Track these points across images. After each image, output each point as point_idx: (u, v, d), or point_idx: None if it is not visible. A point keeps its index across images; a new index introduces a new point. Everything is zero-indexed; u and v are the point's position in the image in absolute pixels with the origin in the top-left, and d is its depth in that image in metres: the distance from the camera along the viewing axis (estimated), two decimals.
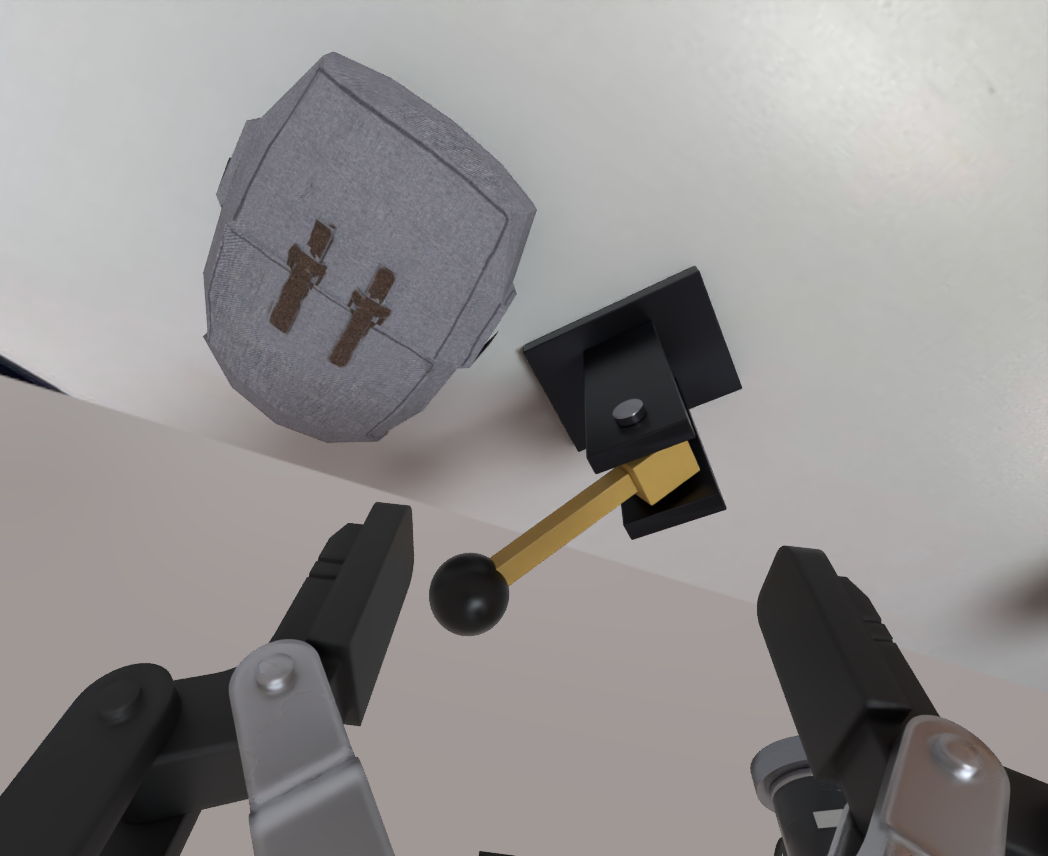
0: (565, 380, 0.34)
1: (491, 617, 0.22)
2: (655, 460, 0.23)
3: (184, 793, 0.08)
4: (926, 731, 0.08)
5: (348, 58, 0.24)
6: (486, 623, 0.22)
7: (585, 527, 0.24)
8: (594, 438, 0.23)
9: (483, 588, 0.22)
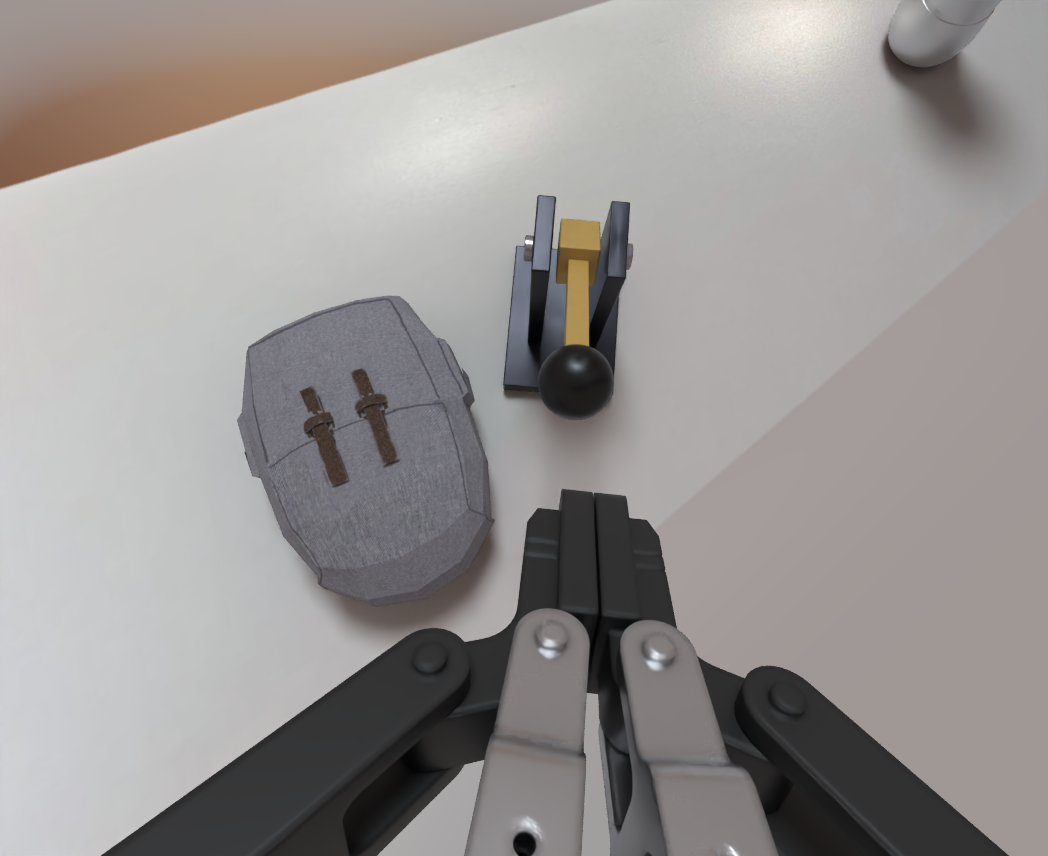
0: None
1: (590, 352, 0.23)
2: (565, 235, 0.29)
3: (473, 744, 0.08)
4: (641, 634, 0.09)
5: None
6: (592, 357, 0.23)
7: (586, 293, 0.27)
8: None
9: (562, 347, 0.24)
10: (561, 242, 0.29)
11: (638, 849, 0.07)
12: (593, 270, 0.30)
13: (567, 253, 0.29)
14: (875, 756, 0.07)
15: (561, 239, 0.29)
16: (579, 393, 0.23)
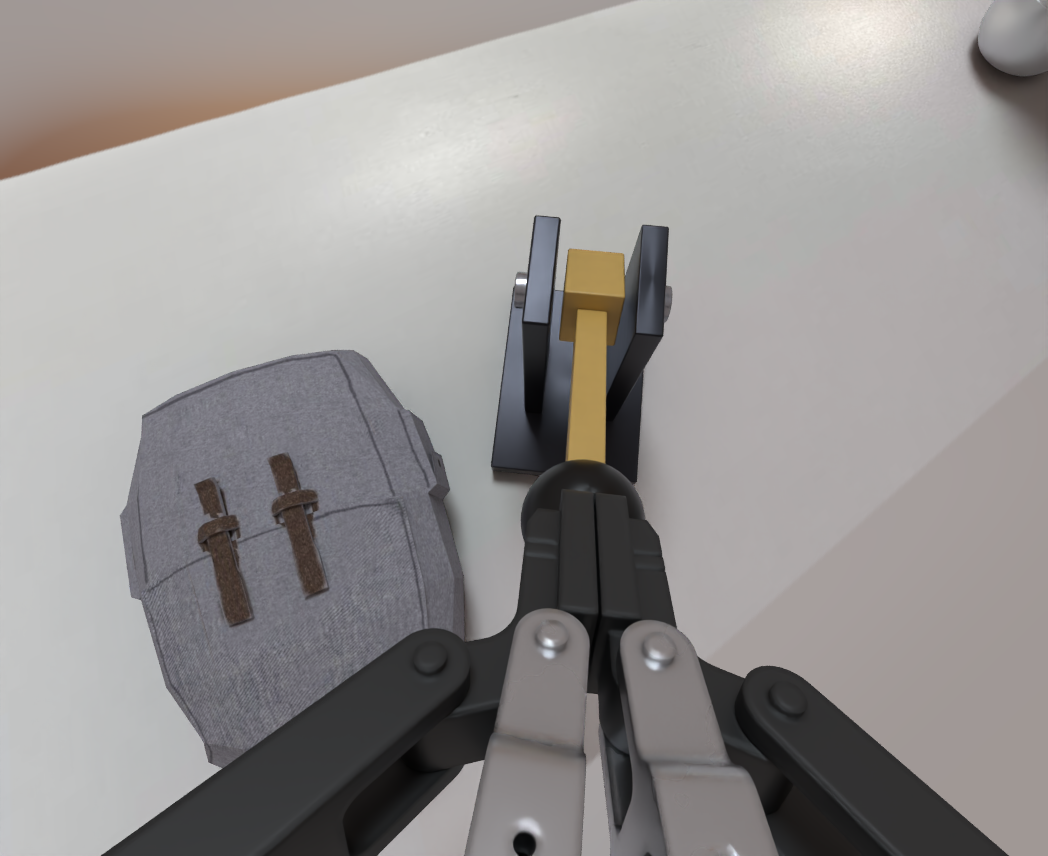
0: (545, 444, 0.30)
1: (607, 481, 0.14)
2: (574, 274, 0.20)
3: (473, 744, 0.08)
4: (641, 634, 0.09)
5: None
6: (611, 491, 0.14)
7: (602, 365, 0.18)
8: None
9: (561, 468, 0.14)
10: (567, 284, 0.20)
11: (638, 849, 0.07)
12: (613, 324, 0.20)
13: (576, 300, 0.20)
14: (875, 756, 0.07)
15: (567, 280, 0.20)
16: None
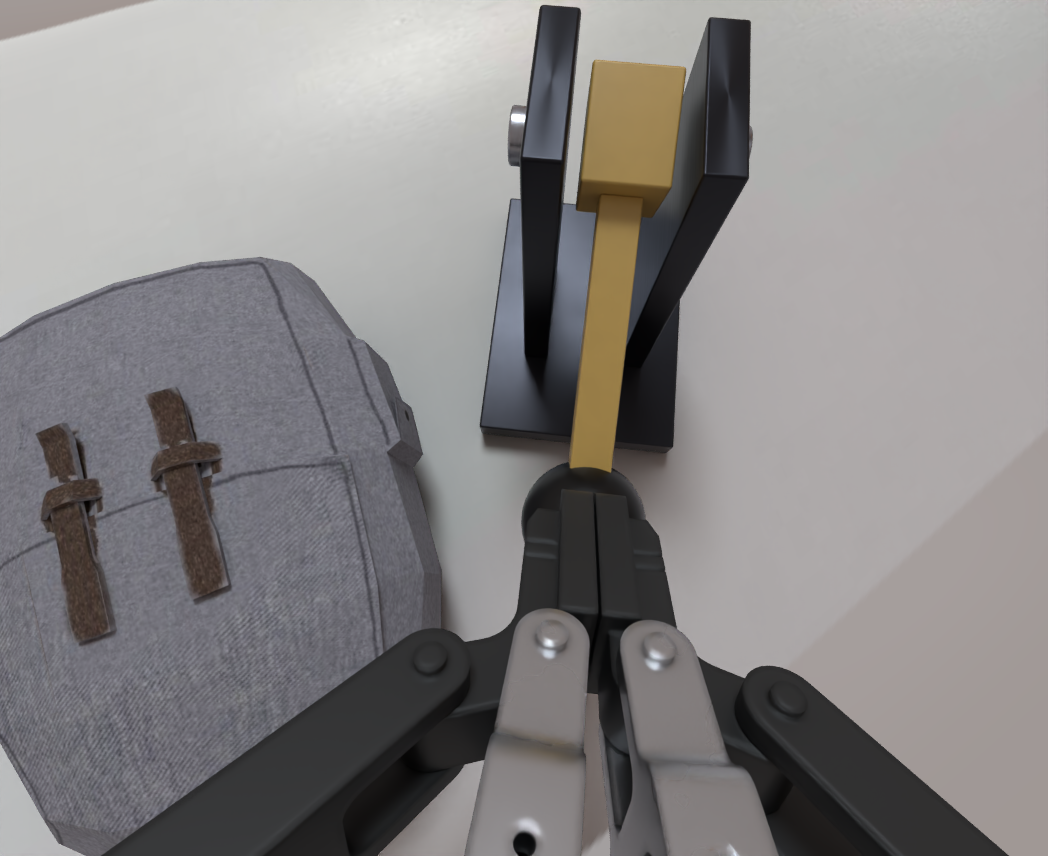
0: (551, 398, 0.23)
1: None
2: (597, 135, 0.13)
3: (473, 744, 0.08)
4: (641, 633, 0.09)
5: None
6: None
7: (625, 312, 0.14)
8: None
9: (559, 503, 0.14)
10: (585, 164, 0.13)
11: (638, 849, 0.07)
12: (653, 205, 0.14)
13: (598, 188, 0.13)
14: (875, 756, 0.07)
15: (586, 152, 0.13)
16: None
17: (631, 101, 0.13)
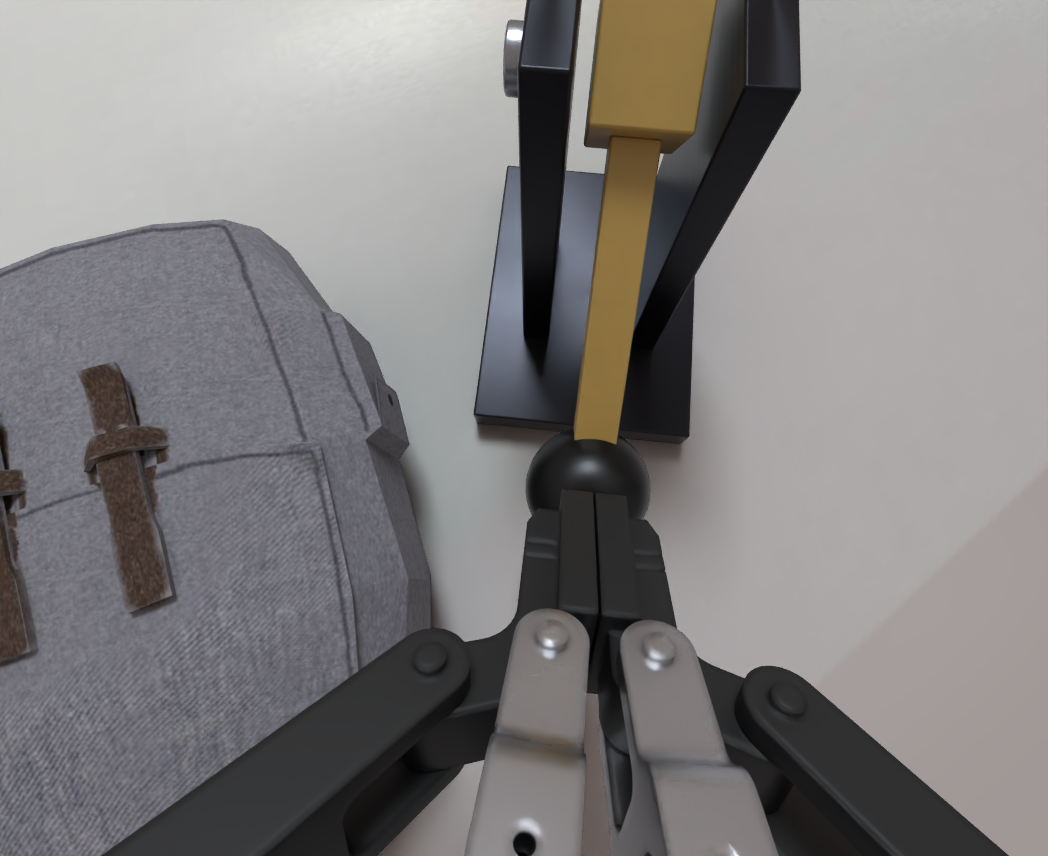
0: (553, 383, 0.20)
1: None
2: (609, 66, 0.11)
3: (473, 744, 0.08)
4: (641, 633, 0.09)
5: None
6: None
7: (636, 276, 0.13)
8: None
9: (563, 480, 0.13)
10: (594, 104, 0.11)
11: (638, 849, 0.07)
12: (673, 146, 0.12)
13: (609, 131, 0.11)
14: (875, 756, 0.07)
15: (596, 88, 0.11)
16: None
17: (651, 20, 0.10)
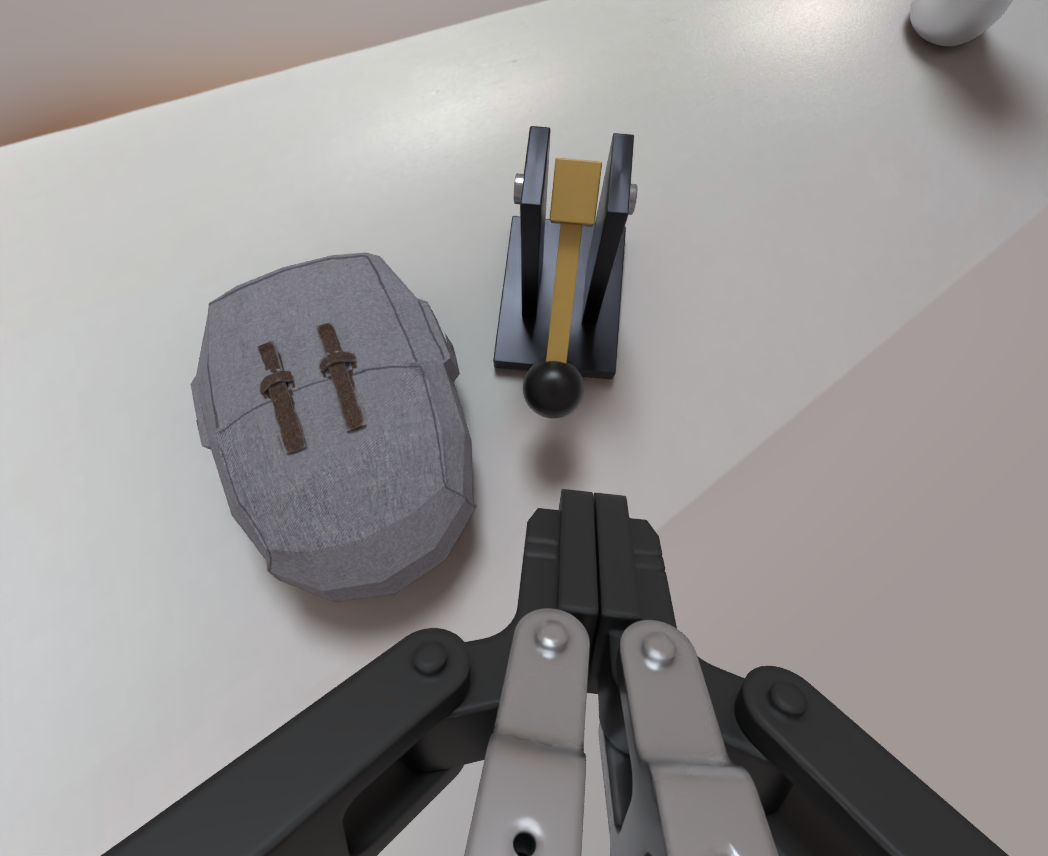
0: (538, 343, 0.36)
1: (562, 389, 0.29)
2: (558, 197, 0.26)
3: (473, 744, 0.08)
4: (641, 634, 0.09)
5: None
6: (563, 395, 0.29)
7: (573, 283, 0.28)
8: None
9: (540, 378, 0.29)
10: (552, 212, 0.26)
11: (638, 849, 0.07)
12: (588, 225, 0.28)
13: (559, 221, 0.27)
14: (875, 756, 0.07)
15: (552, 205, 0.26)
16: (551, 417, 0.30)
17: (574, 180, 0.26)
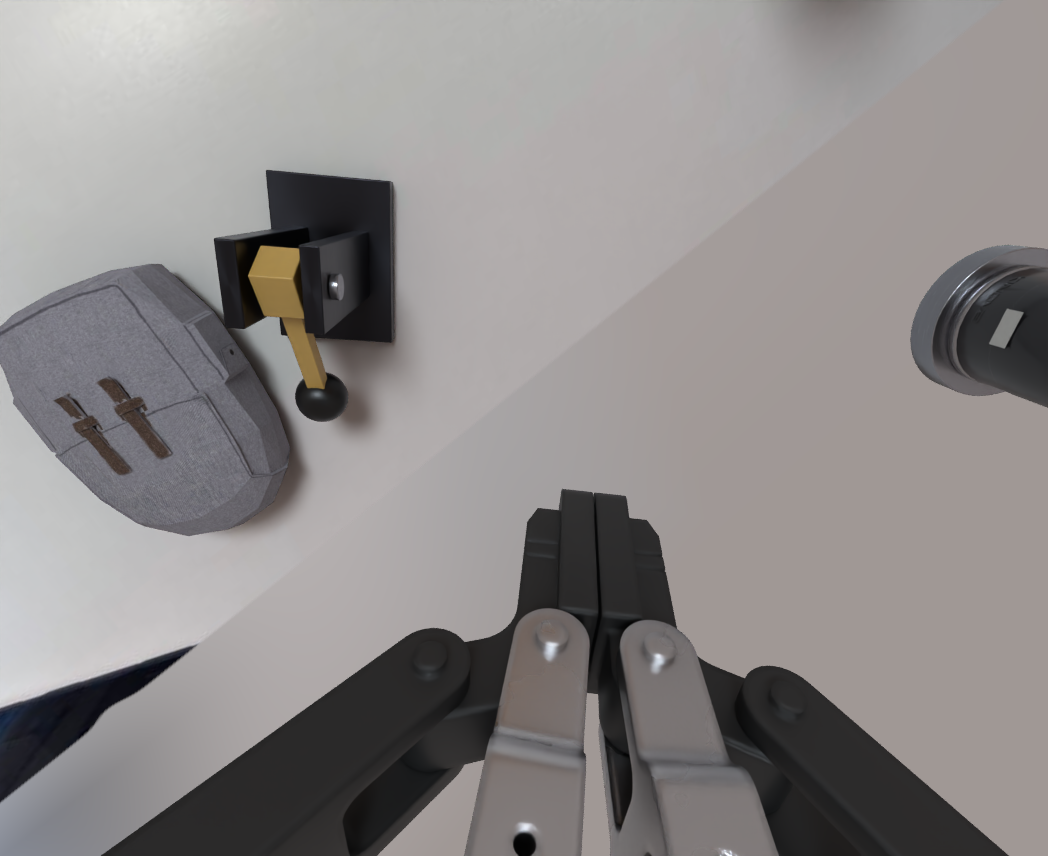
0: None
1: (323, 413, 0.36)
2: (263, 302, 0.28)
3: (473, 744, 0.08)
4: (641, 634, 0.09)
5: None
6: (325, 416, 0.36)
7: (307, 345, 0.32)
8: None
9: (304, 405, 0.36)
10: (263, 311, 0.29)
11: (638, 849, 0.07)
12: None
13: None
14: (875, 756, 0.07)
15: (261, 307, 0.29)
16: None
17: (273, 291, 0.28)
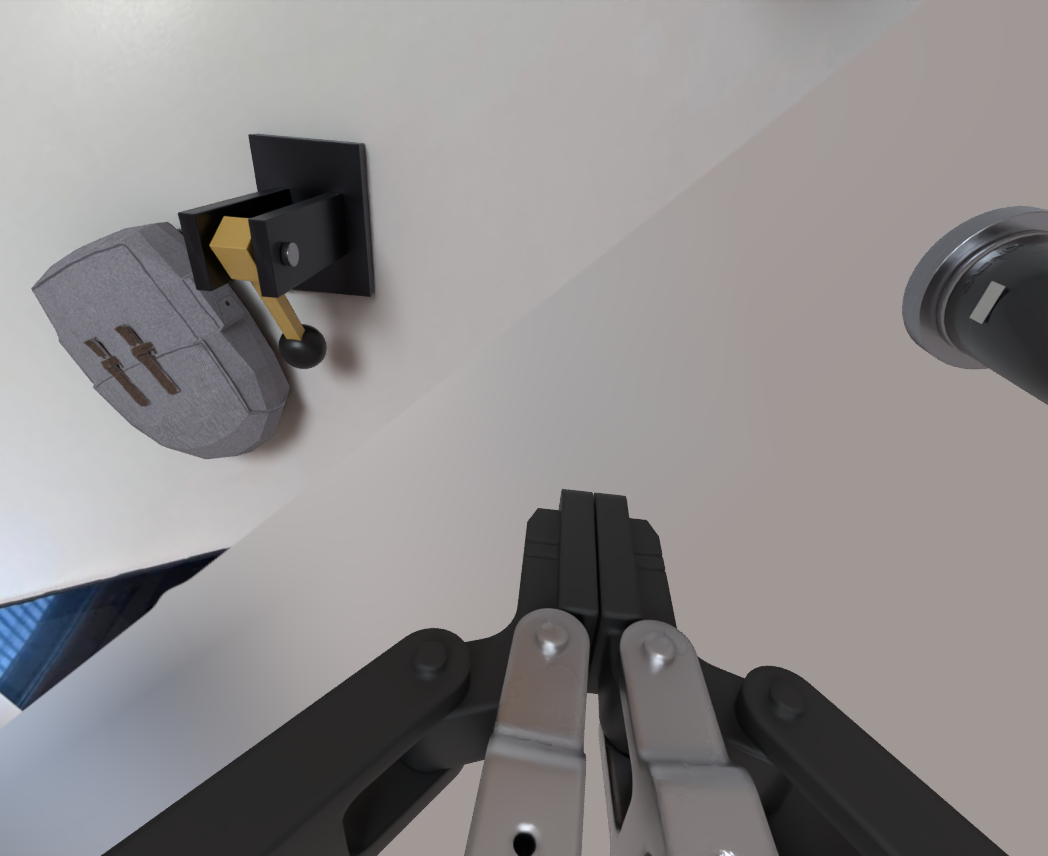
0: None
1: (301, 361, 0.41)
2: (228, 267, 0.32)
3: (473, 744, 0.08)
4: (641, 633, 0.09)
5: None
6: (303, 364, 0.41)
7: (277, 303, 0.36)
8: None
9: (284, 354, 0.40)
10: (229, 275, 0.33)
11: (638, 849, 0.07)
12: None
13: None
14: (875, 756, 0.07)
15: (227, 271, 0.33)
16: None
17: (232, 258, 0.32)
